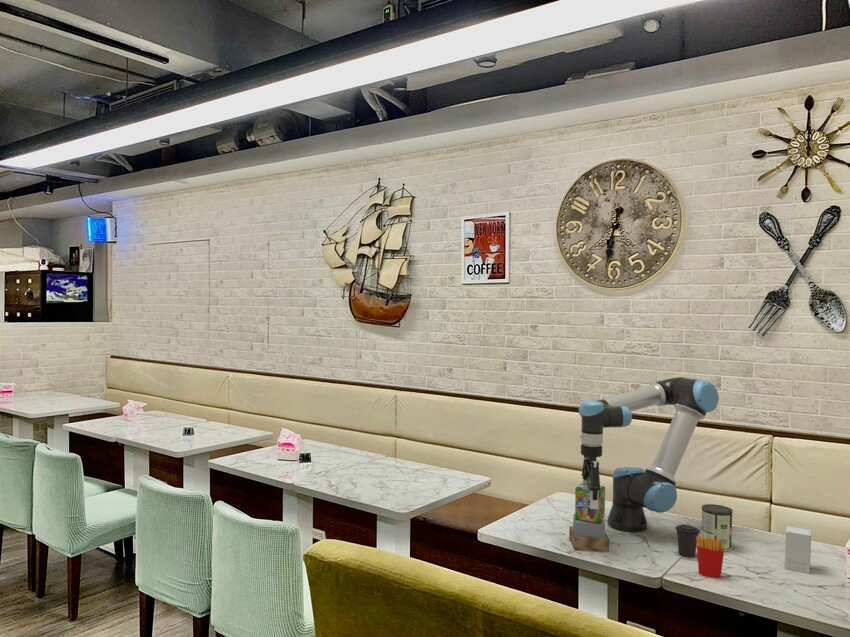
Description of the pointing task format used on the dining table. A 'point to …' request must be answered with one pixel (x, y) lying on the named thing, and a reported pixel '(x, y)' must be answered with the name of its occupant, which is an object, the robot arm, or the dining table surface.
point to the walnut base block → (588, 542)
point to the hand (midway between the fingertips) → (589, 503)
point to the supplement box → (797, 549)
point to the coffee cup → (687, 540)
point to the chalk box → (583, 504)
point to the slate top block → (588, 528)
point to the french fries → (710, 556)
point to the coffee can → (717, 524)
